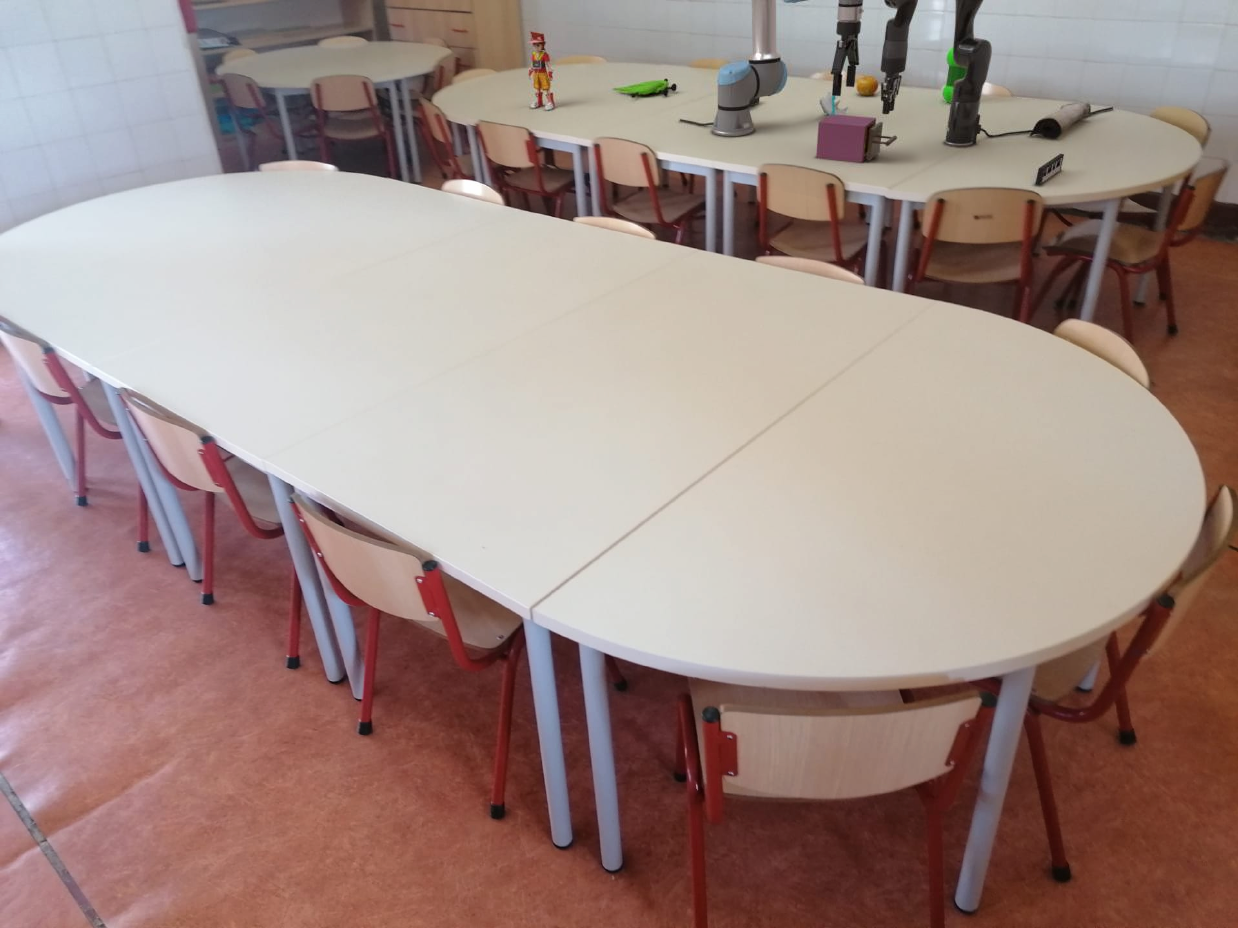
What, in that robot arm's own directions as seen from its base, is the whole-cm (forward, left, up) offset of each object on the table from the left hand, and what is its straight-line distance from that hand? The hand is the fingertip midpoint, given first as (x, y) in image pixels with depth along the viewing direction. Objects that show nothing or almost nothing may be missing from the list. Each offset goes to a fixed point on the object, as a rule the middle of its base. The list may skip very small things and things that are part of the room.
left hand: (843, 91), depth 297 cm
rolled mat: (+63, +53, -20) cm, 85 cm away
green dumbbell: (+20, +79, -20) cm, 84 cm away
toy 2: (-110, +57, -20) cm, 126 cm away
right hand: (+17, -4, -5) cm, 18 cm away
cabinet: (+3, -4, -20) cm, 20 cm away
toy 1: (-137, +20, -20) cm, 140 cm away
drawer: (+9, -4, -19) cm, 21 cm away
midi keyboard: (+68, -5, -20) cm, 71 cm away
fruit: (-16, +81, -20) cm, 85 cm away
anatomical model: (-16, +41, -20) cm, 48 cm away
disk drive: (-58, +48, -20) cm, 78 cm away
